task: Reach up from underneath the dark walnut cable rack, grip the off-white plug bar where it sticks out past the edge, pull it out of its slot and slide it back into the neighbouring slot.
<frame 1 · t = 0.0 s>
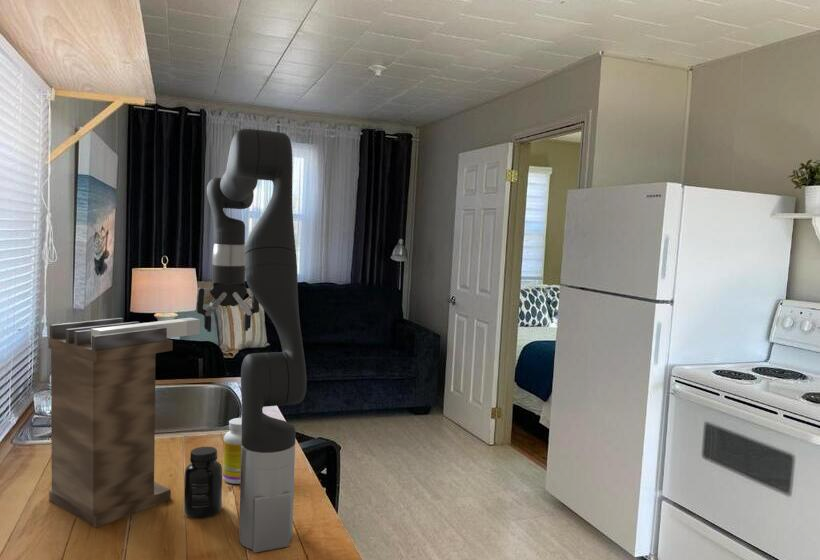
hand: (227, 331, 146), 29 cm above the counter, tool pointing down, fingers open, 8 cm apart
cable rack: (110, 499, 120), on the counter
supplement bottle 2: (238, 479, 133), on the counter
supplement bottle: (202, 512, 117), on the counter
plug bar: (148, 339, 119), point 32 cm above the counter, touching cable rack
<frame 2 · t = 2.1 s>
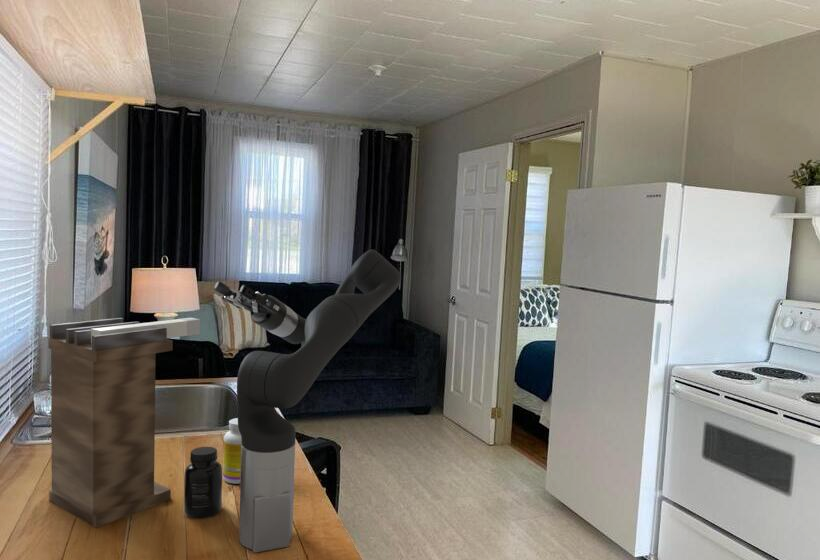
hand: (228, 287, 136), 41 cm above the counter, tool pointing upward, fingers open, 8 cm apart
nothing on the counter moved.
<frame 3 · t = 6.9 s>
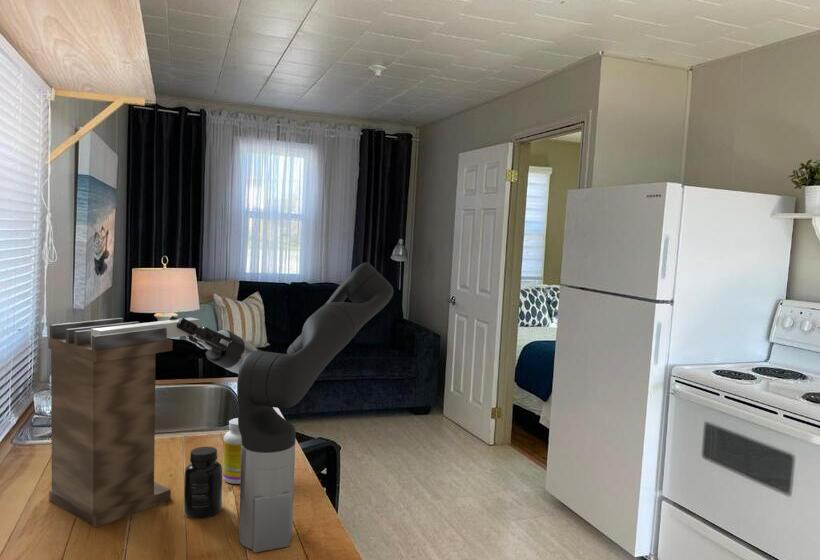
hand: (174, 321, 123), 35 cm above the counter, tool pointing upward, fingers closed on plug bar, 3 cm apart
plug bar: (148, 339, 119), point 32 cm above the counter, touching cable rack, gripper
everything else where it was.
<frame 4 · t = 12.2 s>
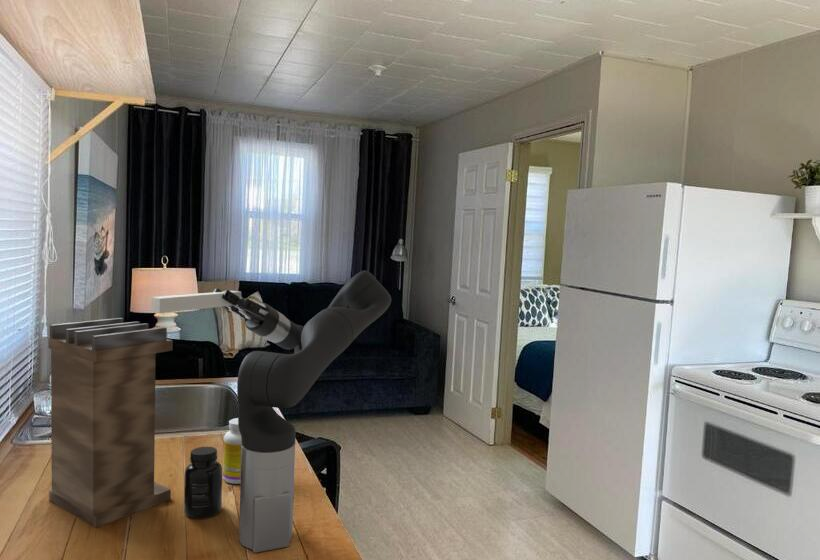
hand: (219, 293, 140), 39 cm above the counter, tool pointing upward, fingers closed on plug bar, 3 cm apart
plug bar: (198, 307, 136), point 36 cm above the counter, touching gripper
everything else where it was.
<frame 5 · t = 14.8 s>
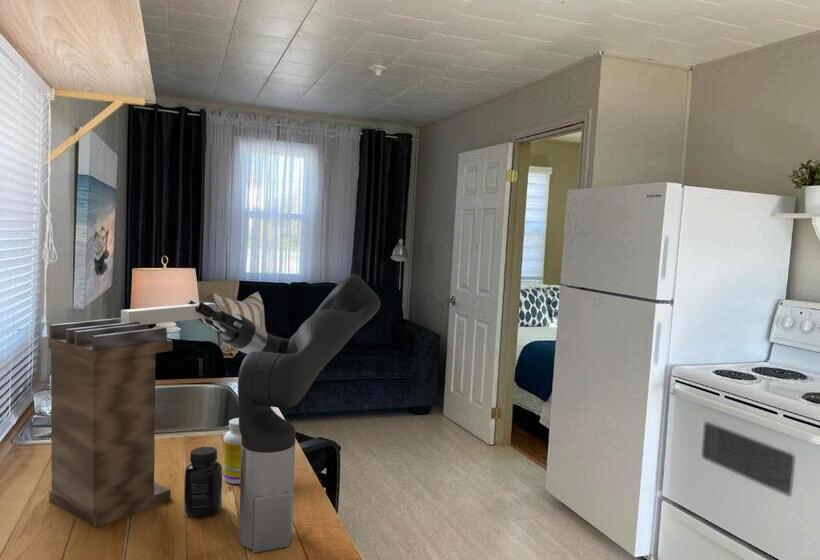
hand: (192, 305, 137), 36 cm above the counter, tool pointing upward, fingers closed on plug bar, 3 cm apart
plug bar: (170, 320, 133), point 33 cm above the counter, touching gripper
everything else where it was.
when the fingers open (36 cm above the counter, at t = 17.5 s): plug bar drops 1 cm, resting on cable rack.
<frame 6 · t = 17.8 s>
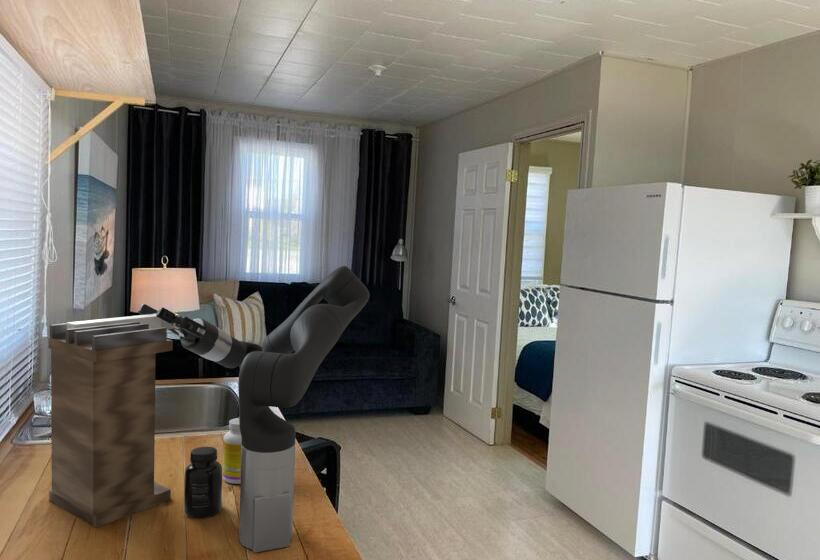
hand: (149, 309, 129), 36 cm above the counter, tool pointing upward, fingers open, 6 cm apart
plug bar: (123, 332, 124), point 32 cm above the counter, touching cable rack
everything else where it was.
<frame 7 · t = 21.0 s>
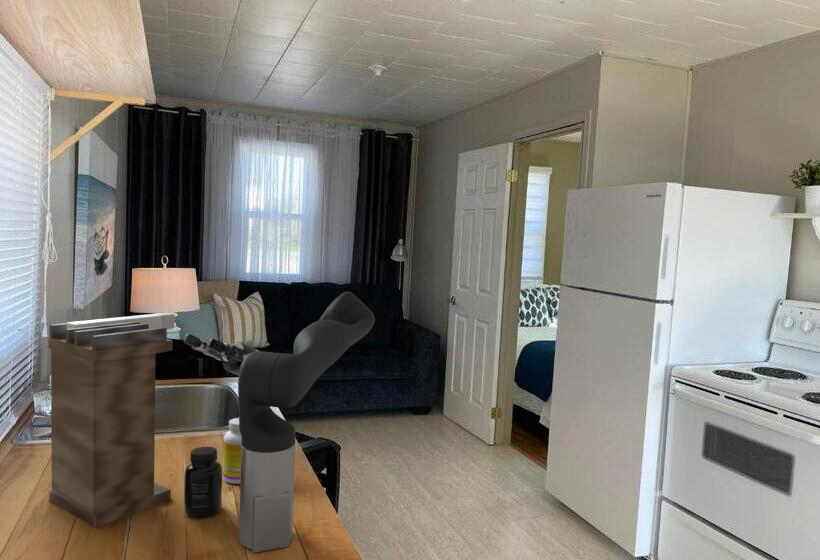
hand: (197, 340, 139), 28 cm above the counter, tool pointing upward, fingers open, 8 cm apart
nothing on the counter moved.
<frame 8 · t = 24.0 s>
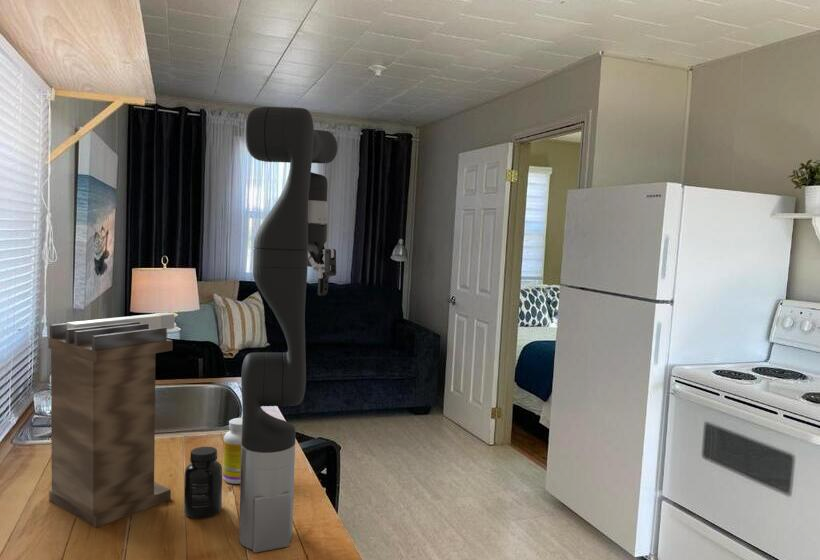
hand: (308, 293, 139), 40 cm above the counter, tool pointing down, fingers open, 8 cm apart
nothing on the counter moved.
at the end: plug bar 0.1 cm from the target spot, point 32.0 cm above the counter; the gripper is holding nothing; plug bar tilted 0° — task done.
